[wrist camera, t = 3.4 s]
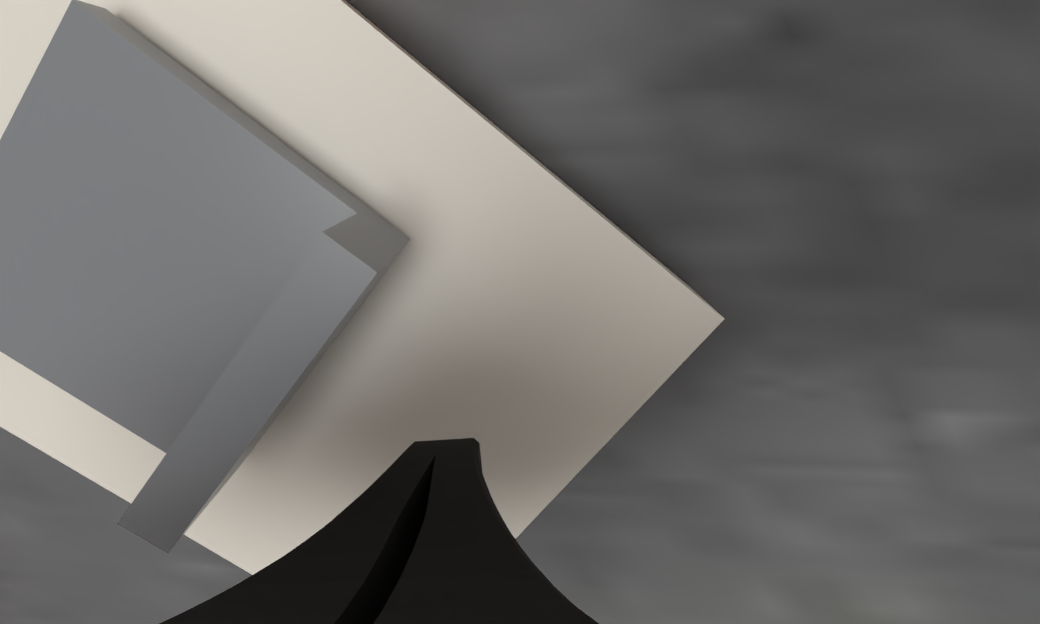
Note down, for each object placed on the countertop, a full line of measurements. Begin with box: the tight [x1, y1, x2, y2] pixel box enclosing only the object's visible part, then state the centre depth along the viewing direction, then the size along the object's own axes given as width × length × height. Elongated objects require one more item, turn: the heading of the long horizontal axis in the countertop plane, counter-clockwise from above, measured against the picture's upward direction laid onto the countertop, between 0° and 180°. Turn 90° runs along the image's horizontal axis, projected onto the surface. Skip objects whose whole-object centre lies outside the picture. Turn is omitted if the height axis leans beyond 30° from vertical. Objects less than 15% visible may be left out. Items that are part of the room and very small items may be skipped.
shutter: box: [0, 0, 410, 553], centre depth 10 cm, size 7×7×3 cm
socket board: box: [0, 0, 724, 575], centre depth 13 cm, size 16×12×2 cm
